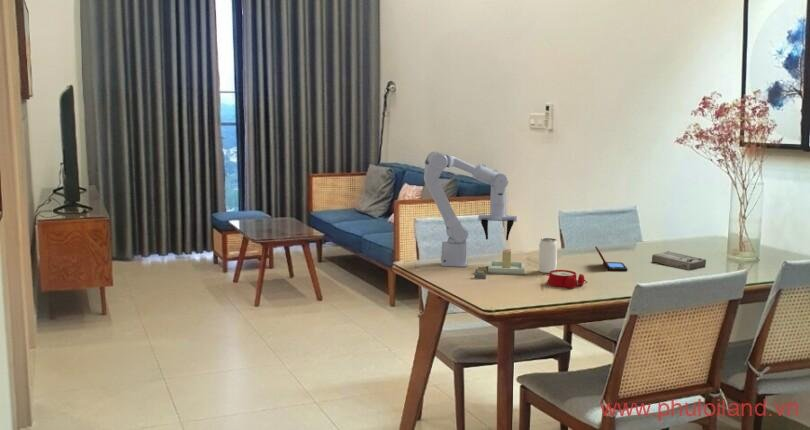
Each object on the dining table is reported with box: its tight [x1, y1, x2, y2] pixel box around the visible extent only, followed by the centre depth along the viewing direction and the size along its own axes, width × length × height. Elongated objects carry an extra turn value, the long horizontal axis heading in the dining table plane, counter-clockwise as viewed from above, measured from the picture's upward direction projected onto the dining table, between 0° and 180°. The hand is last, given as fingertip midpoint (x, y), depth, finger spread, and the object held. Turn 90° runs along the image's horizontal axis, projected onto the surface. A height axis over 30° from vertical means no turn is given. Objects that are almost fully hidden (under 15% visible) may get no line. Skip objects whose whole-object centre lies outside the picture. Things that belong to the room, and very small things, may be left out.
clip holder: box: [473, 266, 488, 280], centre depth 279 cm, size 4×9×2 cm, turn 172°
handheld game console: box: [594, 246, 628, 272], centre depth 294 cm, size 12×11×7 cm
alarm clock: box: [542, 269, 588, 289], centre depth 266 cm, size 10×6×15 cm
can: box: [538, 237, 558, 274], centre depth 286 cm, size 6×6×12 cm
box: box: [651, 251, 707, 271], centre depth 300 cm, size 11×17×3 cm, turn 37°
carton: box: [501, 248, 512, 268], centre depth 288 cm, size 3×5×7 cm, turn 171°
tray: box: [487, 260, 525, 276], centre depth 288 cm, size 13×13×2 cm
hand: (497, 239), depth 299 cm, fingers open, 7 cm apart
